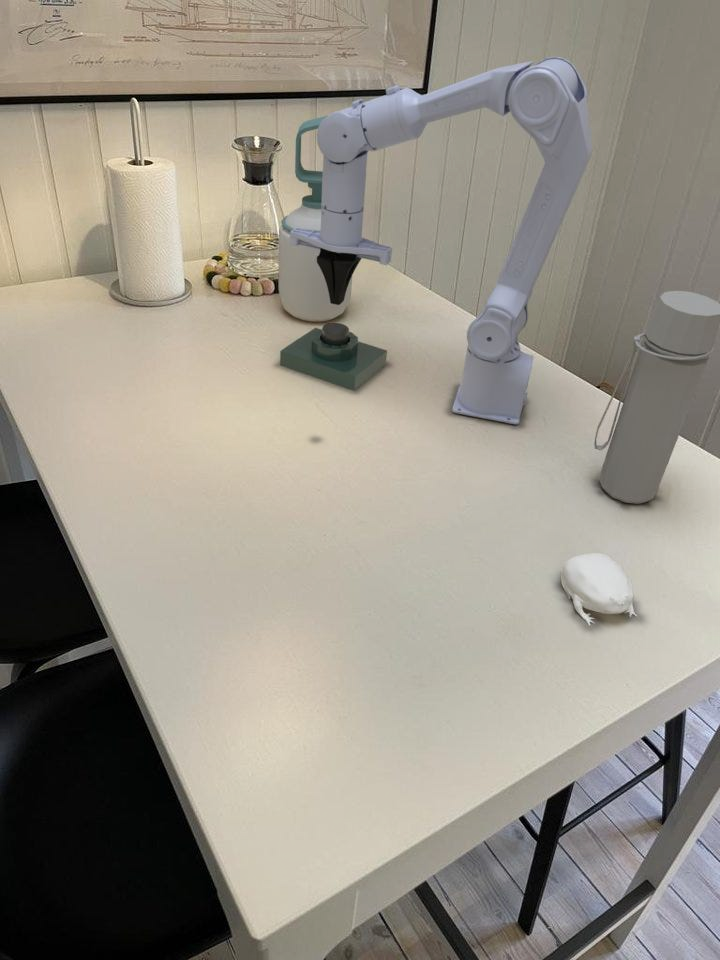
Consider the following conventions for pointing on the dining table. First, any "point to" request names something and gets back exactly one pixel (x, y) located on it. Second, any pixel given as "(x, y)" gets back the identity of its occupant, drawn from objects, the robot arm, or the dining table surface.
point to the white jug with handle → (305, 251)
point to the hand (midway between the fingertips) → (337, 301)
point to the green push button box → (334, 359)
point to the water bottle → (658, 394)
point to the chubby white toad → (597, 585)
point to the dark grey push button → (335, 334)
